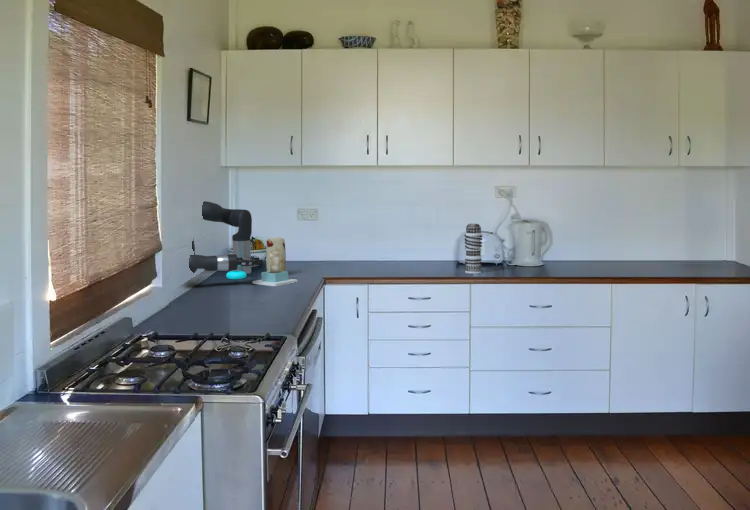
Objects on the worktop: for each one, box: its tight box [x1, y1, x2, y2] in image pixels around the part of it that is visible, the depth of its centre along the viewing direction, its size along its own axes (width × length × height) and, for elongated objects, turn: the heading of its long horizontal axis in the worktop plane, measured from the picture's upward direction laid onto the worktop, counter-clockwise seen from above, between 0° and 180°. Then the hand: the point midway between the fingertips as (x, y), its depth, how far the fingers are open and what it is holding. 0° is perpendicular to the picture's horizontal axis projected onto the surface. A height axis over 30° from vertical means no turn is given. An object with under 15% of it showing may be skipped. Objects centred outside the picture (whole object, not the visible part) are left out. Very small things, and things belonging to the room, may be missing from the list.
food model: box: [265, 236, 287, 272], centre depth 370 cm, size 10×7×20 cm
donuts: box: [225, 257, 247, 280], centre depth 367 cm, size 10×10×10 cm
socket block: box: [252, 270, 298, 287], centre depth 351 cm, size 15×15×5 cm
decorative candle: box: [464, 223, 483, 274], centre depth 378 cm, size 9×9×25 cm
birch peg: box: [270, 251, 280, 273], centre depth 351 cm, size 4×4×14 cm
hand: (261, 260), depth 348 cm, fingers open, 8 cm apart
